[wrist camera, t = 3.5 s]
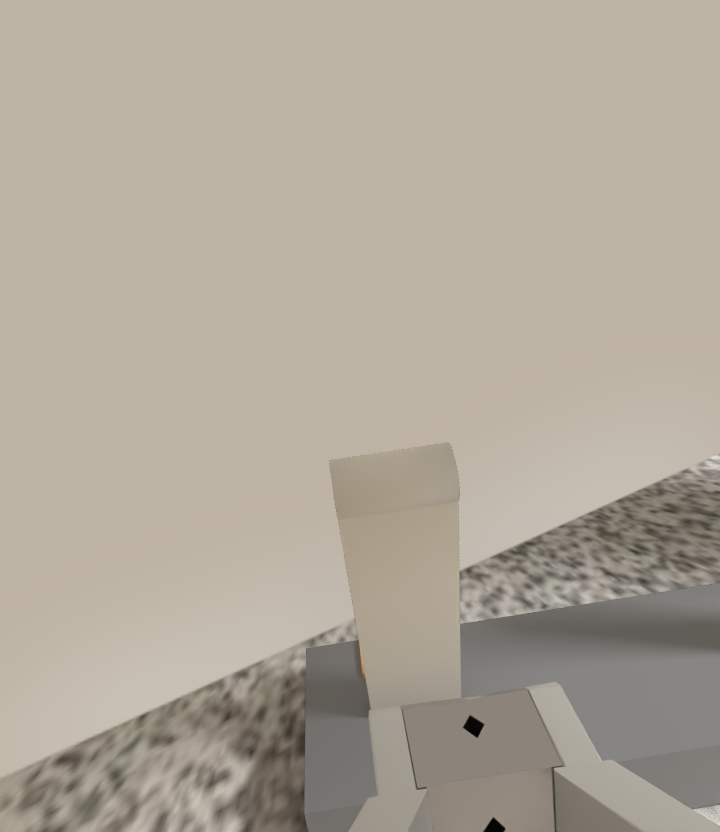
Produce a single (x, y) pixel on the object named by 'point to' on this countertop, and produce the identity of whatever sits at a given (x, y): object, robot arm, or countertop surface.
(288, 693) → the countertop surface
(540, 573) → the countertop surface
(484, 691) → the switch unit
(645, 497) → the countertop surface
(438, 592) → the outer lever
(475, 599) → the countertop surface
